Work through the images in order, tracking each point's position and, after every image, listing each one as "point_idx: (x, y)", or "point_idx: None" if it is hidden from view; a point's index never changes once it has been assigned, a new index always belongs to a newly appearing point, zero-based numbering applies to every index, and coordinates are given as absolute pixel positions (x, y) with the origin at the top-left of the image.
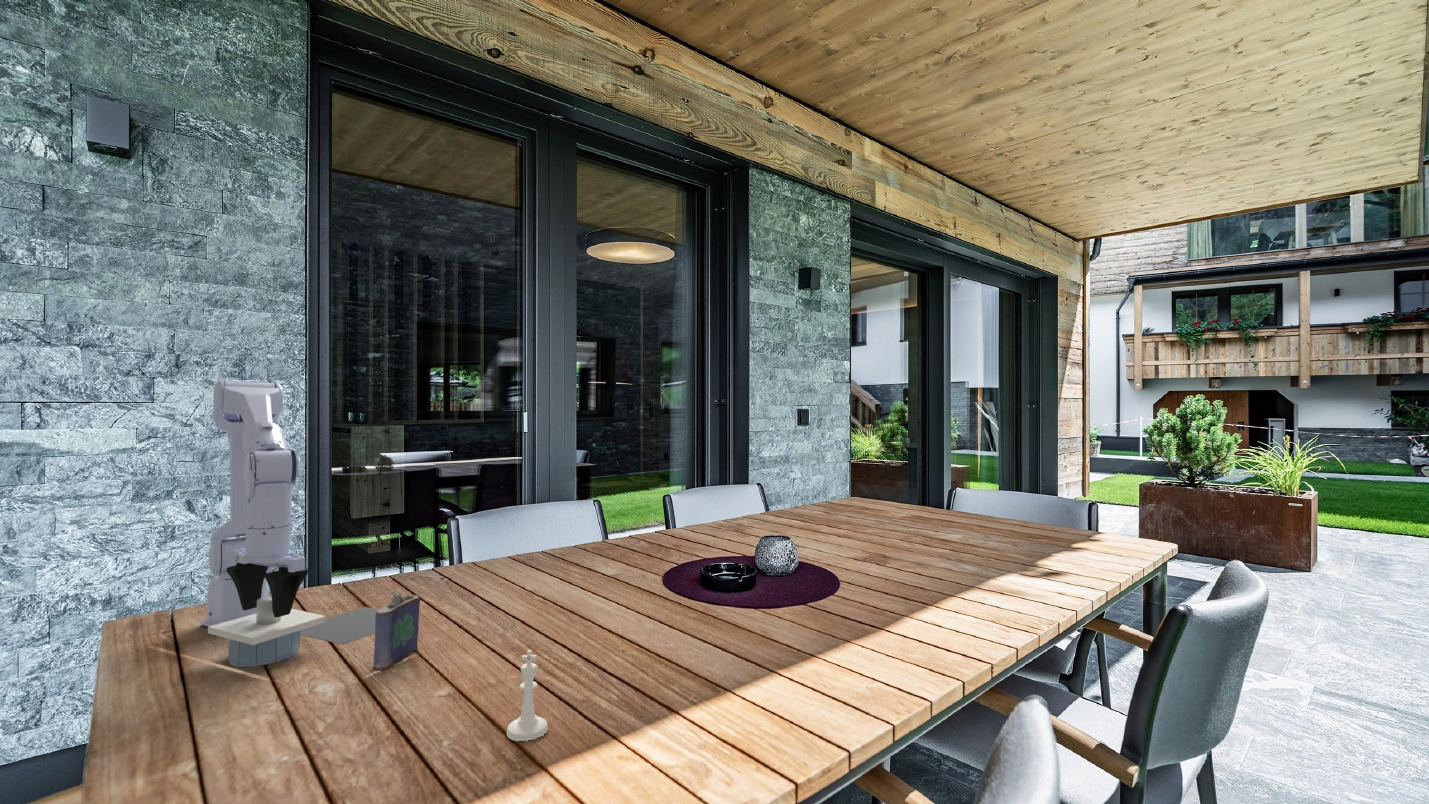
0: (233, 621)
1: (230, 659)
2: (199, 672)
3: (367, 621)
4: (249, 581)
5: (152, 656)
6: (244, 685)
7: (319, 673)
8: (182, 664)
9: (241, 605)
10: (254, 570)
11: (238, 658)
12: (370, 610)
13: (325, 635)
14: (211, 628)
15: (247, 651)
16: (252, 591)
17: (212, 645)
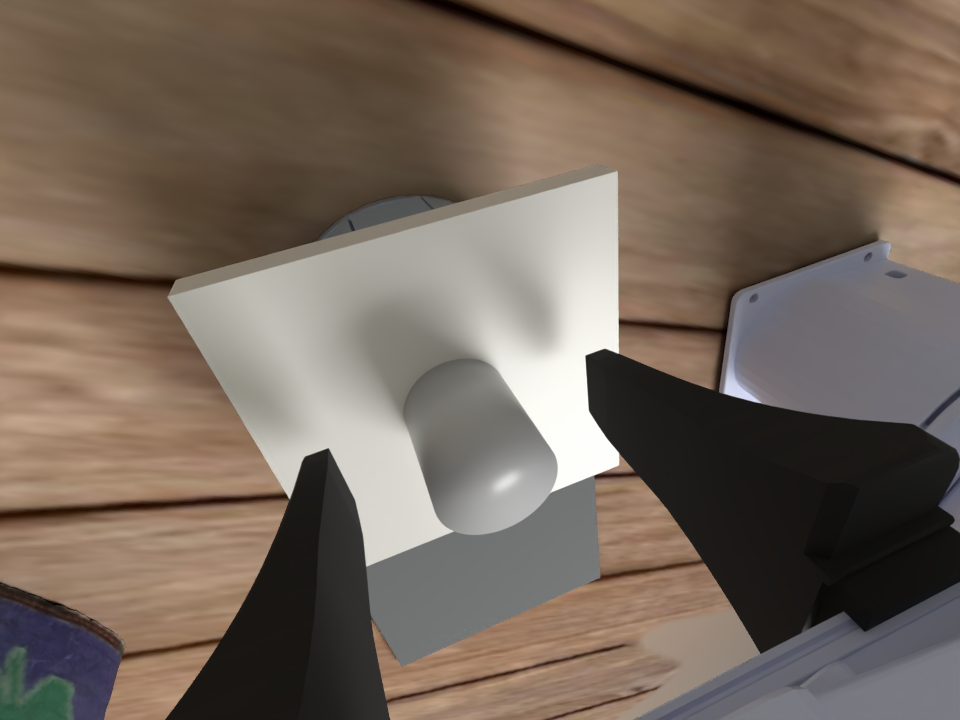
0: (593, 287)
1: (409, 201)
2: (437, 78)
3: (476, 578)
4: (702, 484)
5: (780, 12)
6: (77, 166)
7: (35, 425)
8: (594, 63)
9: (621, 355)
10: (759, 569)
11: (353, 221)
12: (559, 586)
13: None
14: (583, 178)
15: None
16: (648, 446)
17: (690, 214)
